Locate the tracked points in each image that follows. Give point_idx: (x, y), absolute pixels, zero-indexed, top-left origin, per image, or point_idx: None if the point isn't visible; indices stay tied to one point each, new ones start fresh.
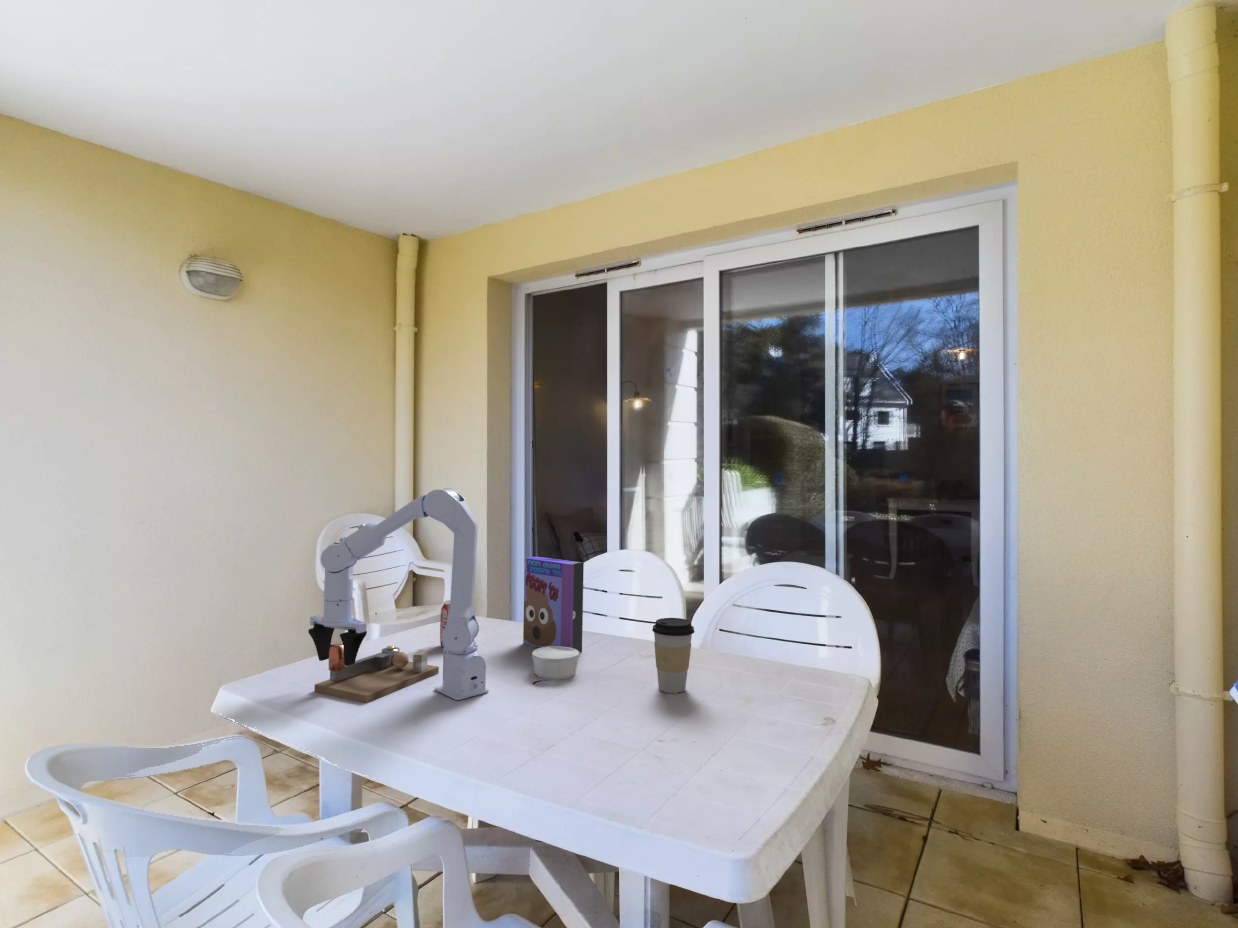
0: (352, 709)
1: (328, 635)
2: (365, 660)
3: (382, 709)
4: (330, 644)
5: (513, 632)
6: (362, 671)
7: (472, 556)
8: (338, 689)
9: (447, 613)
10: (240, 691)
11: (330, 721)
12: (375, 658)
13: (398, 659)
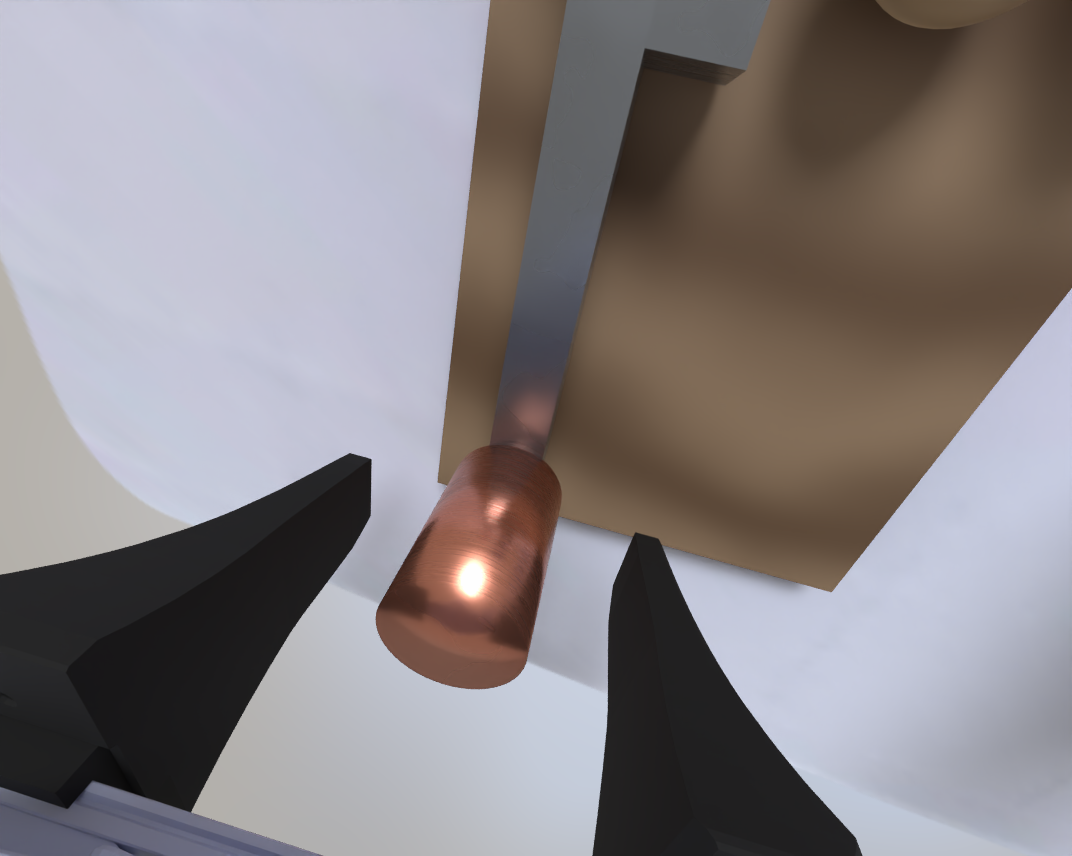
0: (776, 624)
1: (223, 623)
2: (598, 228)
3: (936, 620)
4: (296, 518)
5: None
6: (597, 249)
7: None
8: (615, 531)
9: None
10: (174, 498)
11: None
12: (643, 56)
13: (1005, 1)
